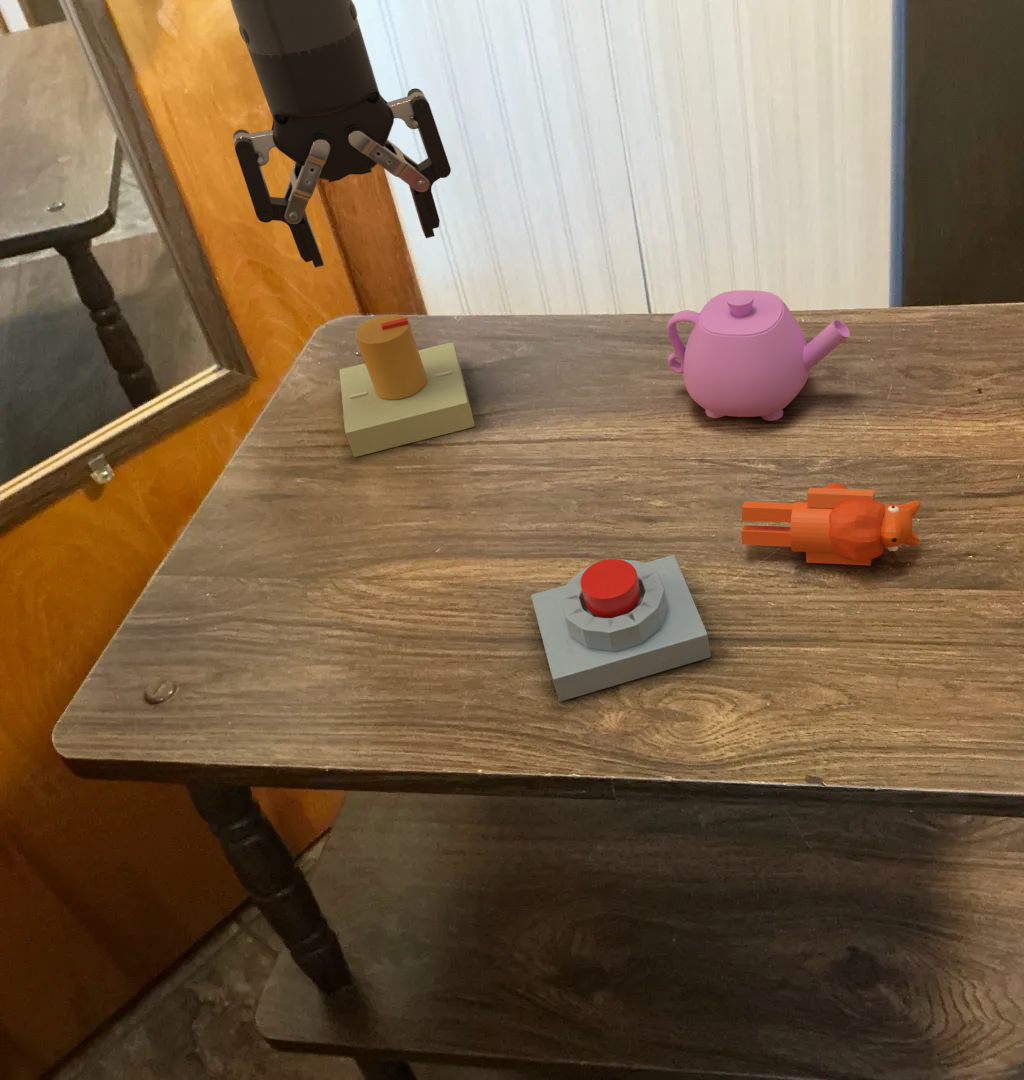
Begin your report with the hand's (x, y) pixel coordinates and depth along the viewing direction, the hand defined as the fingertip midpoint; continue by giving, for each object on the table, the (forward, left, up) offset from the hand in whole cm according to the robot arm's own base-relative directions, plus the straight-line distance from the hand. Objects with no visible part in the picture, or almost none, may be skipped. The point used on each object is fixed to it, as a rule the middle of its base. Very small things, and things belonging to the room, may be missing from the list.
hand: (373, 248), depth 88 cm
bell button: (+10, -33, -11) cm, 36 cm away
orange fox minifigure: (+26, -30, -15) cm, 42 cm away
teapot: (+27, -11, -15) cm, 32 cm away
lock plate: (-1, 0, -15) cm, 15 cm away
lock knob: (-1, 0, -12) cm, 13 cm away
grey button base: (+10, -33, -15) cm, 37 cm away
